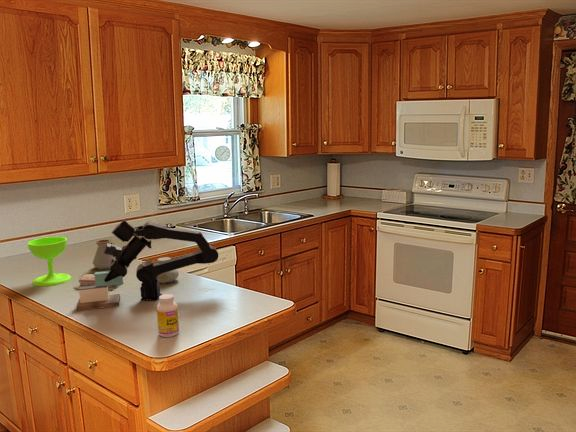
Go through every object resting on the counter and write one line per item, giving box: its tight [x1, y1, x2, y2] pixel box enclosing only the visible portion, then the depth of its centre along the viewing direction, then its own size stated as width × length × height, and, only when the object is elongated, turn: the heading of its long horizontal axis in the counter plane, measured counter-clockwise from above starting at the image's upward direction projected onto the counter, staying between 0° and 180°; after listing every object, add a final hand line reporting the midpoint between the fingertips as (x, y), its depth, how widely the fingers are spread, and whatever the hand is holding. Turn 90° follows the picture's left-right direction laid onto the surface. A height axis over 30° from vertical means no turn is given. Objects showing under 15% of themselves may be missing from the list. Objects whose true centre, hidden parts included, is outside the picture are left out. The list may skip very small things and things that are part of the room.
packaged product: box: [73, 273, 123, 291], centre depth 231 cm, size 18×5×10 cm
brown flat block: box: [76, 293, 121, 311], centre depth 210 cm, size 15×10×2 cm, turn 104°
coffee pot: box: [92, 239, 115, 271], centre depth 254 cm, size 21×12×15 cm, turn 33°
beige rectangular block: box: [78, 286, 109, 303], centre depth 209 cm, size 10×3×6 cm, turn 104°
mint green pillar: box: [93, 270, 124, 287], centre depth 209 cm, size 10×2×5 cm, turn 104°
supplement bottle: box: [156, 293, 180, 338], centre depth 178 cm, size 7×7×13 cm
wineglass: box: [26, 236, 72, 287], centre depth 240 cm, size 16×16×18 cm
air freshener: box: [156, 256, 179, 284], centre depth 234 cm, size 11×8×10 cm
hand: (105, 280), depth 209 cm, fingers closed on mint green pillar, 2 cm apart
